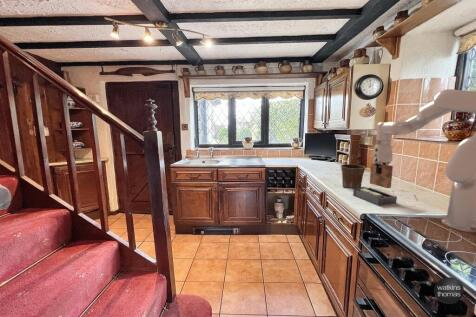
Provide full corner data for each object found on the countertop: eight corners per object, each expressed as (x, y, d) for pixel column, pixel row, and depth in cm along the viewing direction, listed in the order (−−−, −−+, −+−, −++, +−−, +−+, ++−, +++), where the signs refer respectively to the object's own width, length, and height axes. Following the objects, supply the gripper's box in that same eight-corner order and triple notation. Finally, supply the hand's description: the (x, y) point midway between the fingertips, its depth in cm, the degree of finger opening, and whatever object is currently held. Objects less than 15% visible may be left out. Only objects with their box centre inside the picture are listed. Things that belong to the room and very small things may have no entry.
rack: (395, 204, 130) (396, 196, 129) (377, 207, 126) (378, 198, 126) (369, 195, 147) (370, 187, 147) (352, 196, 144) (353, 189, 143)
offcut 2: (380, 202, 131) (381, 194, 130) (375, 203, 130) (376, 195, 129) (372, 199, 136) (373, 191, 135) (368, 200, 135) (369, 192, 134)
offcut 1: (371, 199, 137) (372, 191, 136) (366, 199, 136) (367, 191, 135) (364, 196, 142) (364, 188, 141) (359, 196, 141) (360, 189, 140)
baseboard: (395, 207, 128) (422, 211, 122) (396, 202, 127) (422, 206, 122) (390, 192, 154) (412, 195, 148) (391, 188, 154) (412, 191, 148)
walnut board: (390, 187, 130) (392, 166, 128) (386, 188, 129) (388, 166, 127) (373, 182, 142) (375, 162, 140) (369, 183, 141) (371, 163, 139)
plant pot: (340, 189, 159) (342, 167, 157) (337, 183, 175) (339, 163, 172) (366, 191, 155) (368, 169, 152) (360, 185, 170) (362, 164, 167)
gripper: (377, 144, 126) (375, 175, 129) (400, 143, 130) (397, 173, 133) (367, 143, 133) (364, 173, 136) (388, 142, 137) (385, 171, 140)
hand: (380, 173), depth 134 cm, fingers closed on walnut board, 3 cm apart
